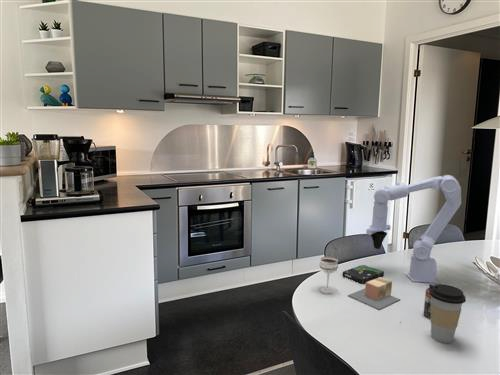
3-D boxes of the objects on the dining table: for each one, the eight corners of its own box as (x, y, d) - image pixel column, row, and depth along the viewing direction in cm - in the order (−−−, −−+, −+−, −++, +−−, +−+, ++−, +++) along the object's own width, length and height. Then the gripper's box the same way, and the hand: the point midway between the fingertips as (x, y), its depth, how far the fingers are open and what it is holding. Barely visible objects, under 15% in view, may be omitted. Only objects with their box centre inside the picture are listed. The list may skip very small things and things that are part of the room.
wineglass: (336, 295, 138) (338, 263, 136) (317, 292, 139) (319, 261, 137) (336, 287, 145) (338, 257, 143) (318, 285, 146) (320, 255, 144)
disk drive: (363, 286, 148) (384, 277, 157) (363, 279, 147) (384, 271, 156) (341, 278, 156) (362, 269, 165) (342, 271, 155) (363, 263, 164)
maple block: (380, 277, 142) (365, 282, 136) (392, 281, 138) (377, 287, 133) (379, 289, 143) (364, 295, 137) (390, 294, 139) (376, 300, 133)
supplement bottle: (441, 313, 126) (445, 281, 124) (444, 322, 120) (448, 288, 119) (422, 310, 128) (425, 279, 126) (424, 318, 122) (427, 285, 120)
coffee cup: (418, 329, 116) (423, 283, 113) (447, 328, 116) (453, 283, 114) (436, 347, 106) (442, 297, 104) (467, 346, 107) (474, 296, 105)
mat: (369, 287, 145) (369, 286, 145) (400, 300, 135) (400, 299, 135) (347, 296, 137) (347, 295, 137) (379, 310, 127) (379, 309, 127)
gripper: (381, 213, 166) (378, 242, 168) (361, 217, 157) (358, 248, 159) (395, 216, 160) (393, 247, 162) (376, 221, 151) (373, 253, 153)
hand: (377, 248), depth 160 cm, fingers closed
